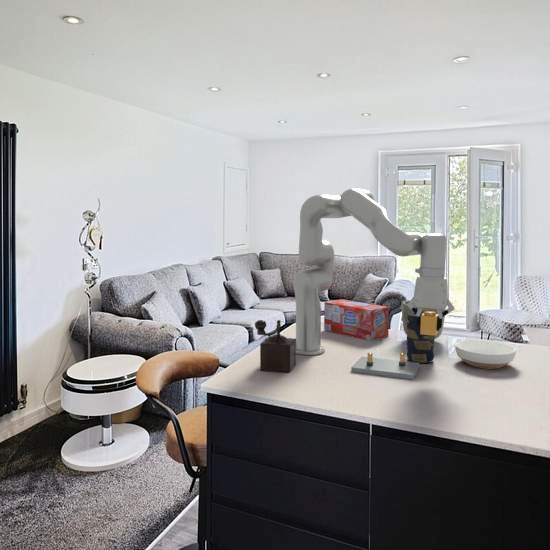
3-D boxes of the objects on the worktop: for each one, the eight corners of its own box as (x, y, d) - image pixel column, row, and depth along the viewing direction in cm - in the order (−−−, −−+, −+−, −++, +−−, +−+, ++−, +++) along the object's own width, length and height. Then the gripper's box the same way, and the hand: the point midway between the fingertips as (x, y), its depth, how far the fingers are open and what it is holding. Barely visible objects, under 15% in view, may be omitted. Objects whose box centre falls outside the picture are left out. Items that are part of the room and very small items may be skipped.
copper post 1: (365, 369, 162) (366, 353, 161) (367, 367, 164) (367, 352, 163) (372, 370, 161) (372, 354, 160) (373, 368, 163) (374, 352, 162)
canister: (435, 365, 166) (437, 314, 164) (407, 363, 168) (408, 313, 166) (432, 357, 175) (433, 309, 173) (405, 356, 177) (406, 308, 175)
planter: (409, 334, 211) (410, 298, 209) (449, 339, 201) (451, 302, 199) (394, 342, 197) (395, 304, 195) (436, 348, 187) (438, 308, 185)
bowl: (514, 359, 172) (515, 343, 172) (516, 375, 155) (517, 357, 154) (456, 353, 180) (457, 337, 180) (452, 368, 163) (452, 350, 162)
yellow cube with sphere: (420, 334, 154) (421, 313, 153) (422, 331, 158) (423, 310, 157) (436, 335, 152) (436, 314, 151) (437, 332, 156) (438, 311, 155)
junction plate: (351, 371, 160) (351, 367, 159) (361, 360, 172) (361, 356, 172) (413, 379, 151) (413, 374, 151) (419, 367, 164) (419, 362, 164)
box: (390, 337, 207) (390, 305, 206) (371, 342, 199) (371, 309, 197) (341, 326, 228) (342, 298, 226) (322, 331, 219) (323, 301, 218)
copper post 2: (398, 370, 161) (398, 354, 160) (399, 368, 163) (399, 352, 162) (404, 370, 160) (405, 354, 159) (405, 369, 162) (406, 353, 161)
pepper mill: (266, 362, 171) (265, 312, 169) (296, 364, 168) (296, 313, 166) (253, 375, 156) (252, 321, 154) (286, 378, 153) (285, 322, 151)
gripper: (402, 272, 152) (400, 328, 155) (459, 275, 145) (456, 334, 148) (406, 270, 159) (404, 323, 162) (461, 273, 152) (458, 329, 155)
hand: (429, 328), depth 155 cm, fingers closed on yellow cube with sphere, 4 cm apart
